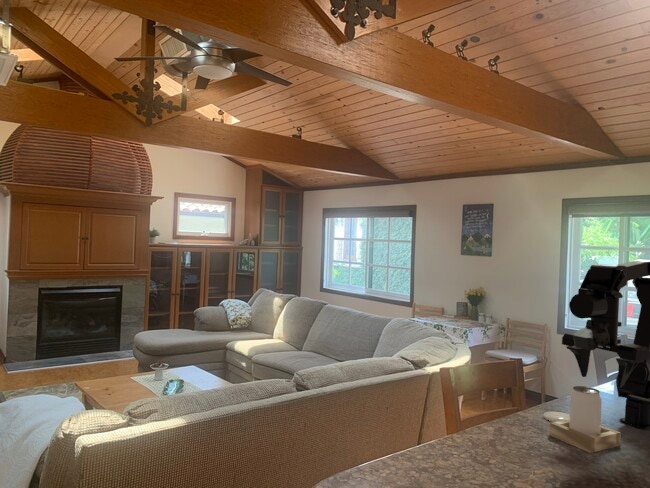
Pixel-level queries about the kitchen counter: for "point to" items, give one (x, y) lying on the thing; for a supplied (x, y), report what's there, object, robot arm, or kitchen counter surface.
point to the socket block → (585, 437)
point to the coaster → (556, 416)
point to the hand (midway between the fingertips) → (601, 381)
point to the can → (585, 410)
